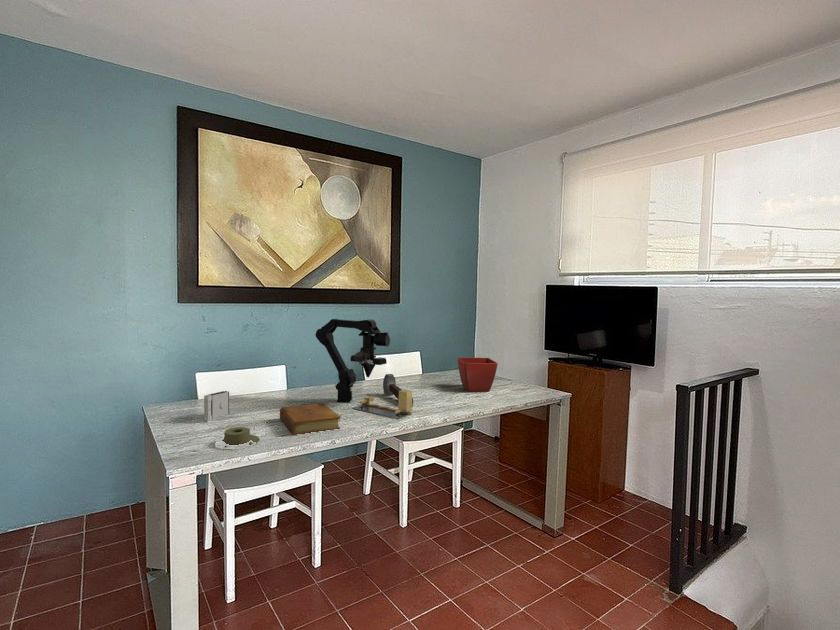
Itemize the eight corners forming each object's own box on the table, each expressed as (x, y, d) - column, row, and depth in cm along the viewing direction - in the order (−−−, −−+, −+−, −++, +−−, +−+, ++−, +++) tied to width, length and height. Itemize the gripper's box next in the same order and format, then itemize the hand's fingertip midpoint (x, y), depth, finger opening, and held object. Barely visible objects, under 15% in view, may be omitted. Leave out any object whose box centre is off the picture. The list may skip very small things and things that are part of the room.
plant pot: (497, 393, 247) (498, 362, 246) (463, 393, 244) (464, 362, 243) (487, 385, 265) (488, 357, 264) (456, 385, 263) (456, 357, 262)
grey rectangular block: (207, 423, 181) (207, 398, 181) (197, 421, 183) (196, 397, 182) (230, 413, 195) (230, 391, 194) (220, 412, 196) (220, 390, 195)
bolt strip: (352, 408, 207) (352, 407, 207) (362, 405, 213) (362, 404, 213) (398, 419, 192) (398, 417, 192) (408, 415, 198) (408, 414, 198)
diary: (279, 421, 188) (279, 407, 188) (323, 415, 197) (323, 403, 197) (292, 436, 168) (292, 421, 168) (340, 430, 177) (340, 415, 177)
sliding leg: (391, 414, 196) (392, 393, 195) (404, 410, 204) (404, 389, 203) (399, 416, 193) (400, 394, 193) (411, 411, 201) (412, 390, 201)
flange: (234, 422, 168) (204, 434, 154) (268, 427, 164) (240, 439, 150) (234, 434, 169) (204, 448, 154) (268, 439, 164) (240, 453, 150)
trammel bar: (355, 407, 209) (355, 398, 209) (366, 404, 215) (366, 395, 215) (402, 418, 194) (402, 408, 194) (411, 414, 200) (412, 405, 200)
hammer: (414, 414, 214) (390, 392, 240) (415, 392, 212) (392, 372, 238) (404, 415, 212) (382, 393, 238) (406, 392, 210) (383, 373, 236)
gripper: (342, 345, 214) (342, 377, 215) (372, 348, 204) (372, 382, 205) (358, 343, 224) (357, 373, 224) (387, 346, 213) (386, 378, 214)
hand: (367, 377), depth 217 cm, fingers closed
